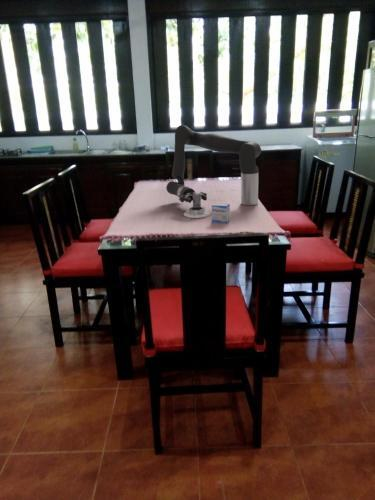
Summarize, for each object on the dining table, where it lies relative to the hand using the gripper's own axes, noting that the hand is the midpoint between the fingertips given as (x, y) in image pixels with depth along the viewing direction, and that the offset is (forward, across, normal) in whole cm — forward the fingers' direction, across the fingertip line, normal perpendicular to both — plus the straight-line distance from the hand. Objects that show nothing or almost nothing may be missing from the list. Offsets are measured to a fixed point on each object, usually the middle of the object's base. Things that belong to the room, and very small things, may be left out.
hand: (198, 199), depth 200 cm
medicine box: (+16, +5, +9) cm, 19 cm away
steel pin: (-2, 0, +8) cm, 8 cm away
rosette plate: (-2, 0, +8) cm, 9 cm away
